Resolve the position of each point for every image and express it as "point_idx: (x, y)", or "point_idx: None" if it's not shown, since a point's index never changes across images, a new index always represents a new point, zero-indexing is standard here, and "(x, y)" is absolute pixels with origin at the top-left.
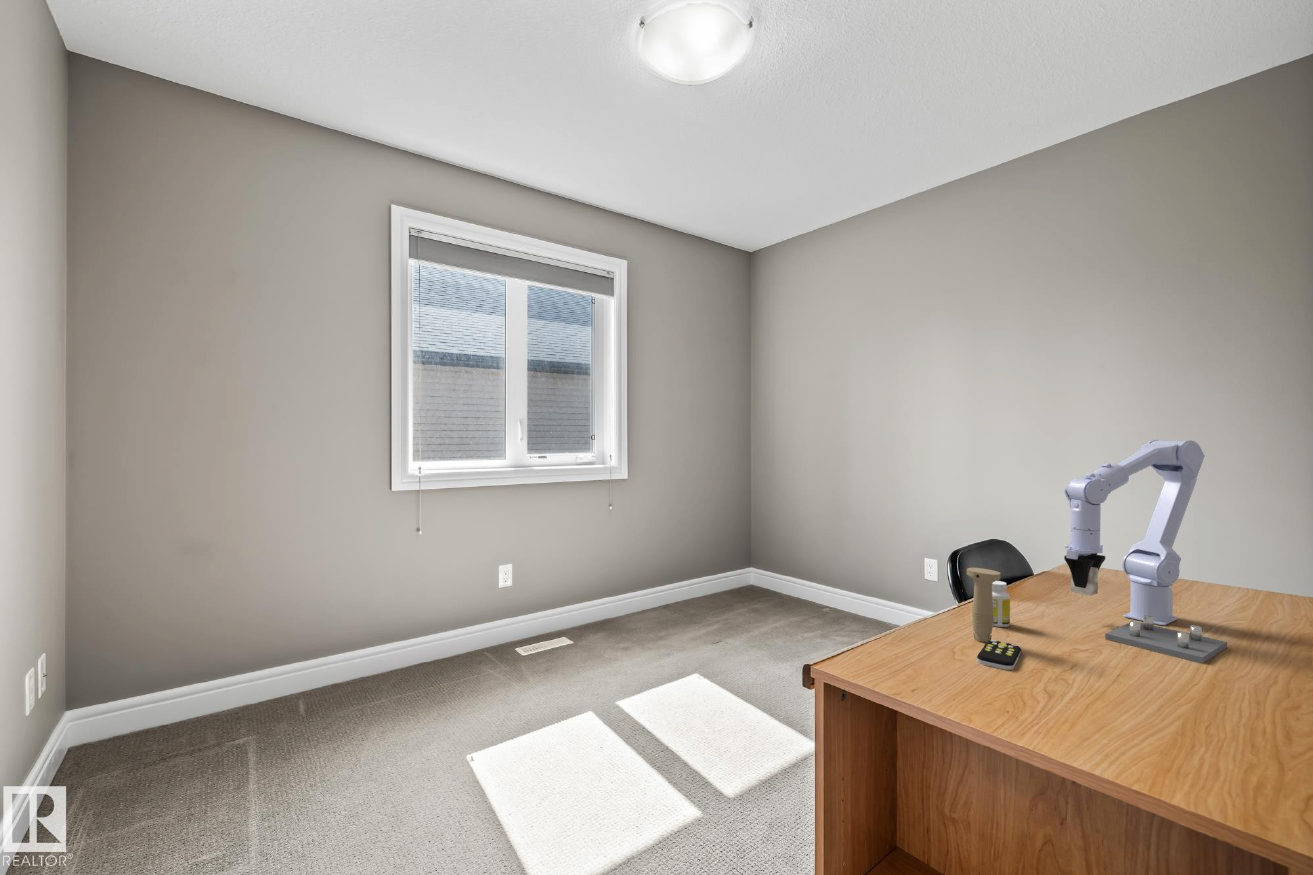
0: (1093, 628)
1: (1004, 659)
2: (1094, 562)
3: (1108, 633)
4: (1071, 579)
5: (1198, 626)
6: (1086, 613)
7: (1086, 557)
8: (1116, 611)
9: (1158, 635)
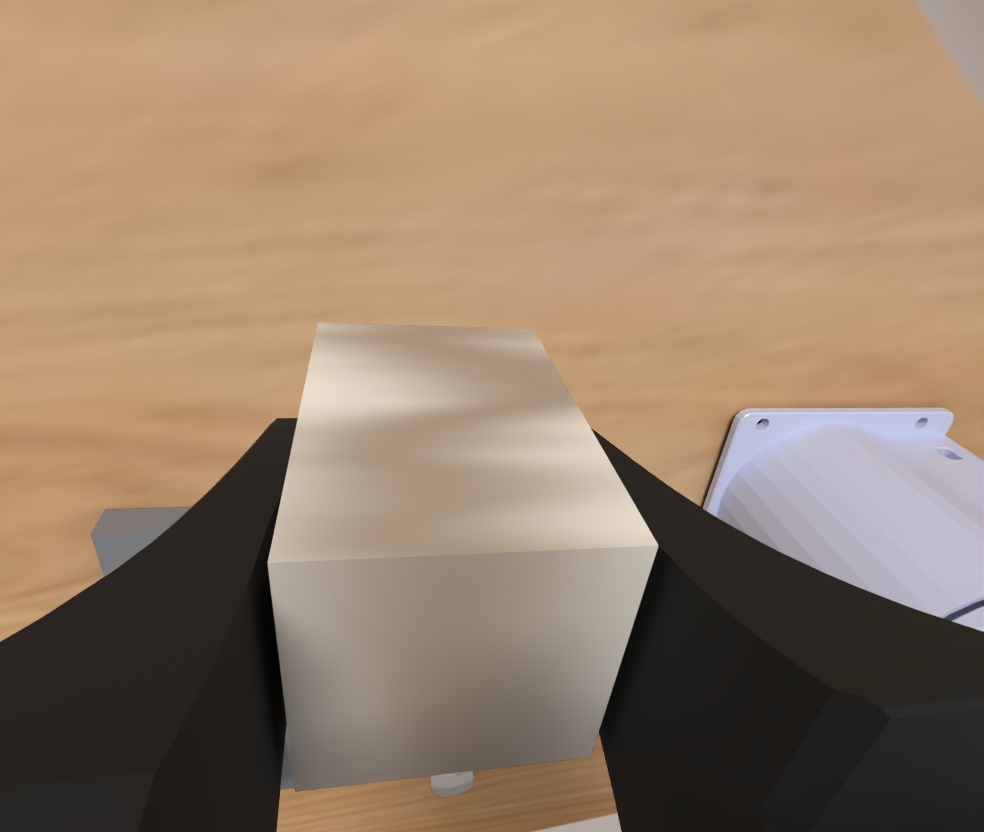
0: (285, 395)
1: None
2: (648, 816)
3: (115, 541)
4: (303, 408)
5: (466, 786)
6: (675, 231)
7: (730, 825)
8: (869, 338)
9: None
